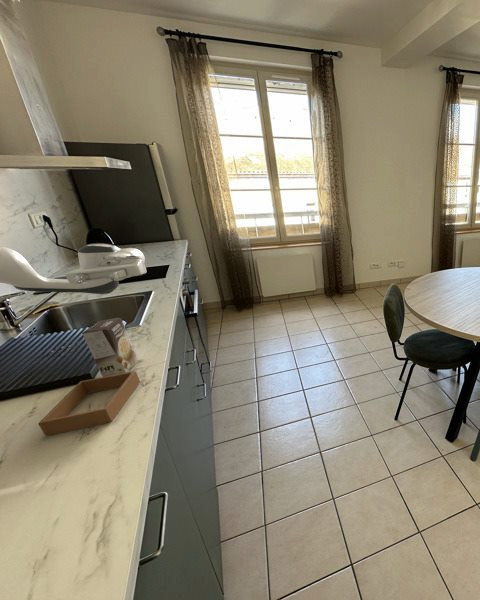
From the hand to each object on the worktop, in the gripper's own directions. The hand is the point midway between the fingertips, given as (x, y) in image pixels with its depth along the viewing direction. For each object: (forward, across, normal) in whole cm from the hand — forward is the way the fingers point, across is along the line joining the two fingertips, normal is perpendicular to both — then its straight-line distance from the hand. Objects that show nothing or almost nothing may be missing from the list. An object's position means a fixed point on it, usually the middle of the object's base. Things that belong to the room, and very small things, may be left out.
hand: (95, 279), depth 102 cm
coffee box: (+10, +2, +28) cm, 30 cm away
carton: (+29, +4, +28) cm, 41 cm away
